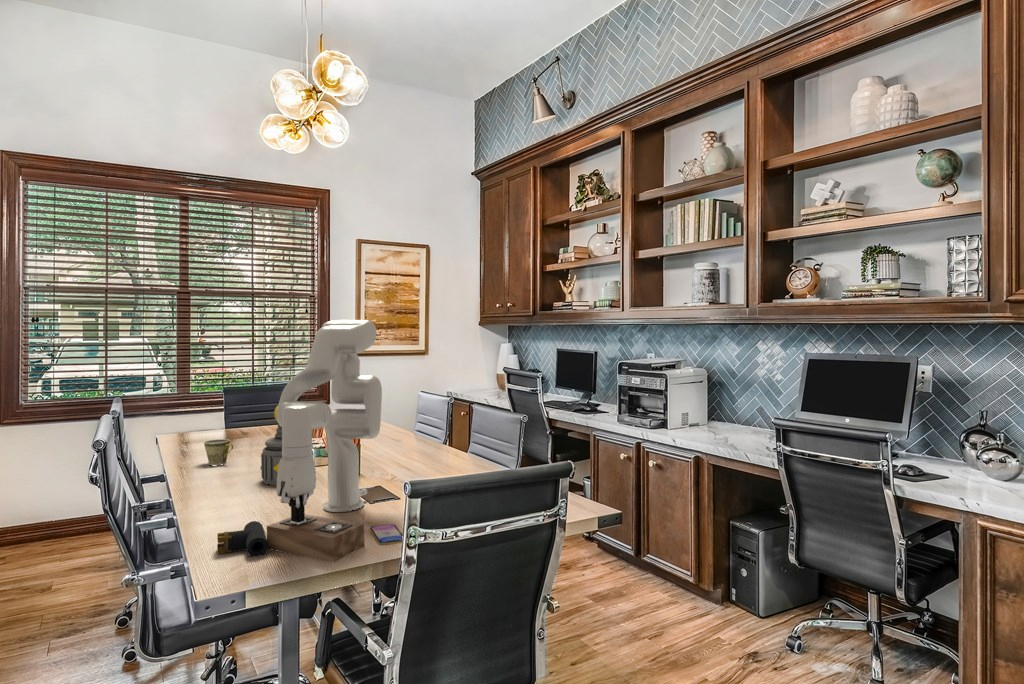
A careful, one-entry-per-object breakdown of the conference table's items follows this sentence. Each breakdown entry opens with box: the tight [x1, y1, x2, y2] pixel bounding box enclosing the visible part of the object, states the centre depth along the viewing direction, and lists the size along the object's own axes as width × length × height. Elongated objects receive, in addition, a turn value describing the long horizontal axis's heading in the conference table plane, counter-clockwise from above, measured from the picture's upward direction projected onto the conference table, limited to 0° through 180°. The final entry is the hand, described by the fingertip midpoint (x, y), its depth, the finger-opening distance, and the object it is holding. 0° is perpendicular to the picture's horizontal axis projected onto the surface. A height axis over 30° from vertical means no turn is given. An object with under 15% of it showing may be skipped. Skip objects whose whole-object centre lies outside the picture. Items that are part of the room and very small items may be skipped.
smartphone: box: [369, 524, 403, 546], centre depth 170 cm, size 8×15×1 cm, turn 23°
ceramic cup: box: [203, 438, 234, 466], centre depth 259 cm, size 13×10×10 cm
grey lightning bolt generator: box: [260, 405, 315, 486], centre depth 232 cm, size 19×19×30 cm
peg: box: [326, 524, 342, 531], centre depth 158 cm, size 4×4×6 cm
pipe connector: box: [216, 520, 269, 558], centre depth 160 cm, size 12×5×15 cm
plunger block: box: [266, 513, 365, 563], centre depth 160 cm, size 12×22×6 cm, turn 65°
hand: (297, 520), depth 163 cm, fingers closed
